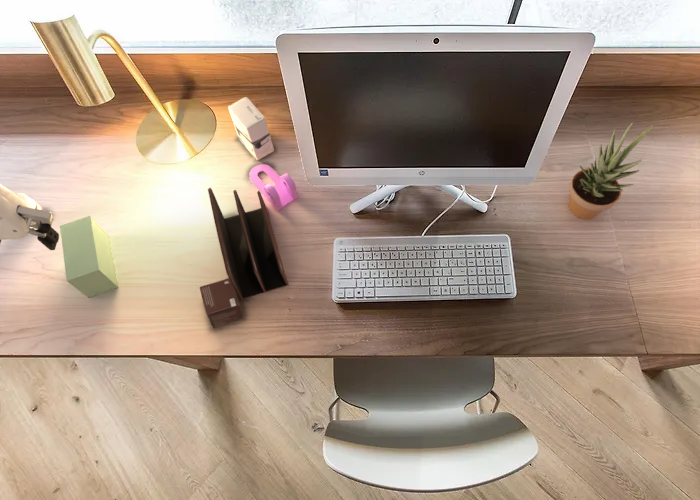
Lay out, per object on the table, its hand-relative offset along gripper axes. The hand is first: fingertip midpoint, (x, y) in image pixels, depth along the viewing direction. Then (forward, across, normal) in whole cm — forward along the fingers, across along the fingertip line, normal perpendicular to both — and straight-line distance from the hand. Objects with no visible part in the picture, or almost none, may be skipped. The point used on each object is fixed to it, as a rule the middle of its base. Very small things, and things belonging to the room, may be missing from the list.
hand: (26, 243), depth 83 cm
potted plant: (+19, +103, +15) cm, 106 cm away
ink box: (+19, +33, +35) cm, 52 cm away
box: (+19, +29, -6) cm, 35 cm away
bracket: (+19, +37, +23) cm, 48 cm away
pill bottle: (+20, -14, +17) cm, 30 cm away
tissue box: (+20, +2, +5) cm, 20 cm away
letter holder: (+20, +34, +7) cm, 40 cm away
